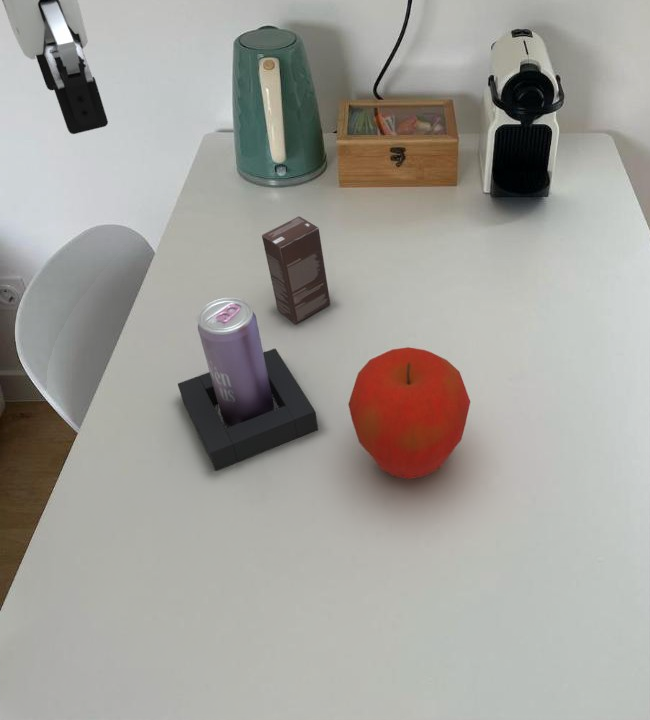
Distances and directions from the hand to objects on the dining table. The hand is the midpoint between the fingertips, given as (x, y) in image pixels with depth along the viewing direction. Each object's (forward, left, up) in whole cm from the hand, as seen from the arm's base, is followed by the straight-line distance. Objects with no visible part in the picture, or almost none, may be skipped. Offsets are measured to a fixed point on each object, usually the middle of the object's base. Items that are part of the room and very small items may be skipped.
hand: (76, 106), depth 70 cm
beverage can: (+7, -7, -36) cm, 38 cm away
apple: (+20, -22, -36) cm, 47 cm away
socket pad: (+7, -7, -36) cm, 38 cm away
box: (+20, +8, -36) cm, 42 cm away
